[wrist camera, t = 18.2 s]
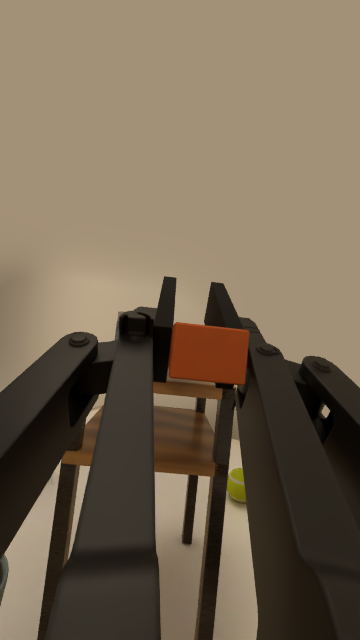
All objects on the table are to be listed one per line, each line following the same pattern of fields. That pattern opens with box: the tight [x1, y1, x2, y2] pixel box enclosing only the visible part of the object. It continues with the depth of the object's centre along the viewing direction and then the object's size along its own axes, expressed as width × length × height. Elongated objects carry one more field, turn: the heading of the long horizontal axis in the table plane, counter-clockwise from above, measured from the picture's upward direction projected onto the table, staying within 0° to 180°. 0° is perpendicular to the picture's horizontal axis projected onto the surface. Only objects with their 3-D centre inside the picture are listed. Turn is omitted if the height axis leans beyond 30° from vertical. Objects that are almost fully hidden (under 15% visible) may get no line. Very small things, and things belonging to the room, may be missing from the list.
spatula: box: [168, 322, 249, 385], centre depth 21 cm, size 27×6×2 cm, turn 3°
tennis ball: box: [227, 468, 246, 503], centre depth 59 cm, size 7×7×7 cm
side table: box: [37, 368, 236, 640], centre depth 37 cm, size 20×18×31 cm
